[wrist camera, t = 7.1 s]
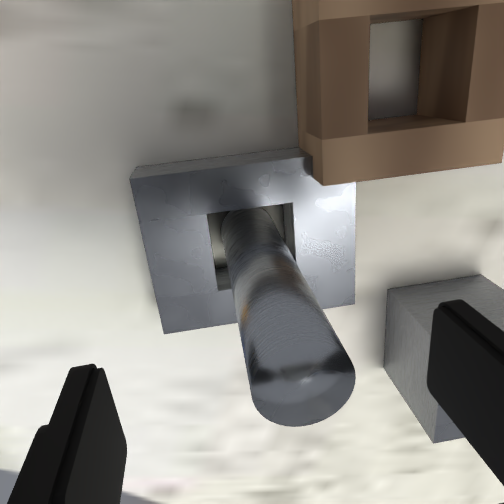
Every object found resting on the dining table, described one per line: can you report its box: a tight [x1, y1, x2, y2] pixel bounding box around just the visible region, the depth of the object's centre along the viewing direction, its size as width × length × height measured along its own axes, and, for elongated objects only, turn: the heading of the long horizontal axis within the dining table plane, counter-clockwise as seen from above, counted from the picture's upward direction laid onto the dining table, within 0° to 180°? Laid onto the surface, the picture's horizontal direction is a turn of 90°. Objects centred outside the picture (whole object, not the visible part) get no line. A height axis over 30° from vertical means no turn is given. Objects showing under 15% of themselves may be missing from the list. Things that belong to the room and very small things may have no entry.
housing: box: [384, 275, 504, 443], centre depth 23 cm, size 6×6×6 cm
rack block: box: [292, 0, 504, 186], centre depth 17 cm, size 8×8×4 cm
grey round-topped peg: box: [221, 207, 356, 427], centre depth 16 cm, size 3×3×12 cm
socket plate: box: [130, 147, 356, 334], centre depth 20 cm, size 10×8×2 cm
